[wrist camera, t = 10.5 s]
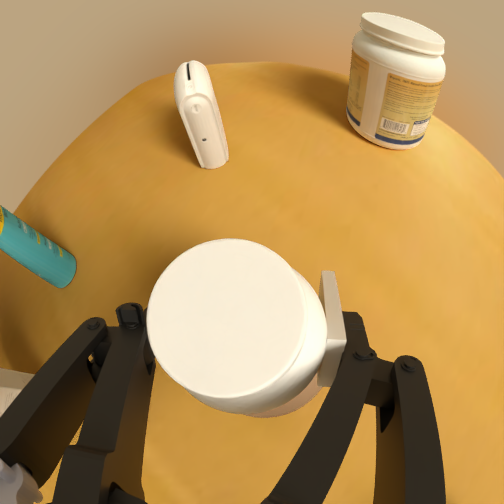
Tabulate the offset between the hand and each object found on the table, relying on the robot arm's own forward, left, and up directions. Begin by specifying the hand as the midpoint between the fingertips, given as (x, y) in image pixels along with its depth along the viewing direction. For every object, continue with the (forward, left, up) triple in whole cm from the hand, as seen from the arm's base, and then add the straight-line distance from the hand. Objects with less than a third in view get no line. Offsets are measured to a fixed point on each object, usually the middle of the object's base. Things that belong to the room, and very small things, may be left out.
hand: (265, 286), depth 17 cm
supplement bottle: (+3, -2, -4) cm, 6 cm away
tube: (-16, -22, -9) cm, 29 cm away
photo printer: (-24, +3, -9) cm, 26 cm away
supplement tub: (-16, +27, -9) cm, 33 cm away
